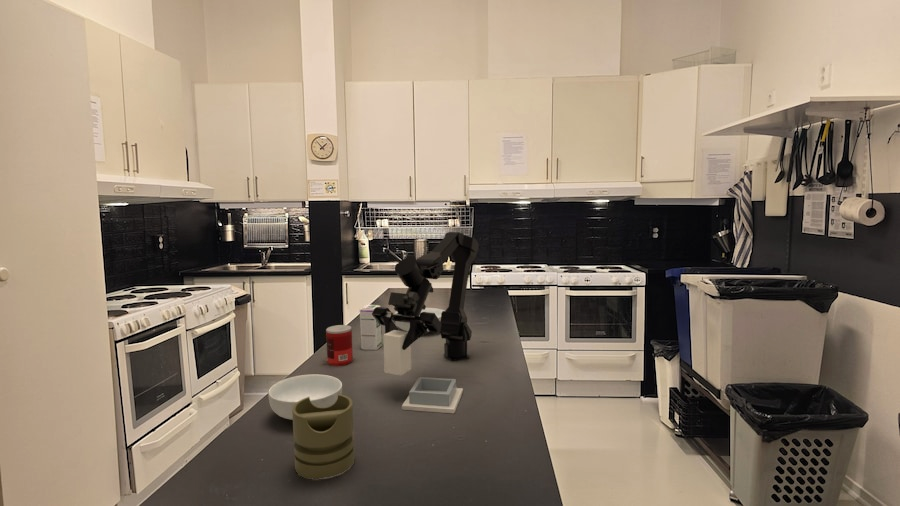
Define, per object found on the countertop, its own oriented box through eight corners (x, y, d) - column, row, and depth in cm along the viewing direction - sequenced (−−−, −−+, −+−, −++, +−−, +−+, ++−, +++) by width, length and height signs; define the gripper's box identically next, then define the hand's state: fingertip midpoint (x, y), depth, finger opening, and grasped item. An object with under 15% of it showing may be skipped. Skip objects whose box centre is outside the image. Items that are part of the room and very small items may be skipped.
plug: (395, 366, 130) (394, 329, 129) (411, 369, 128) (410, 332, 127) (384, 372, 126) (383, 334, 125) (400, 375, 123) (399, 337, 122)
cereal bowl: (275, 438, 106) (273, 406, 106) (265, 408, 121) (263, 381, 120) (351, 420, 114) (350, 391, 113) (333, 395, 129) (332, 369, 128)
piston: (295, 396, 99) (352, 391, 101) (298, 452, 100) (354, 446, 103) (289, 421, 88) (353, 414, 90) (292, 484, 89) (355, 476, 92)
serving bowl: (457, 327, 193) (457, 310, 193) (427, 341, 176) (426, 322, 175) (414, 321, 204) (414, 304, 204) (382, 333, 187) (382, 315, 186)
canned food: (357, 359, 157) (356, 325, 156) (344, 367, 150) (342, 332, 148) (336, 356, 160) (335, 324, 158) (322, 364, 152) (321, 330, 151)
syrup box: (377, 350, 166) (375, 308, 164) (360, 349, 167) (359, 308, 165) (382, 345, 171) (381, 304, 169) (366, 344, 172) (365, 304, 171)
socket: (415, 388, 132) (415, 374, 132) (462, 392, 130) (462, 377, 129) (402, 409, 120) (401, 393, 119) (454, 413, 117) (454, 397, 117)
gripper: (374, 277, 132) (350, 327, 123) (435, 282, 123) (413, 336, 115) (391, 300, 140) (369, 348, 131) (449, 306, 131) (430, 358, 123)
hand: (394, 347), depth 125 cm, fingers closed on plug, 5 cm apart
